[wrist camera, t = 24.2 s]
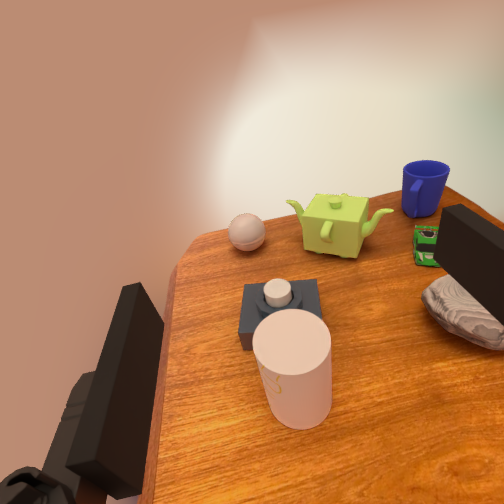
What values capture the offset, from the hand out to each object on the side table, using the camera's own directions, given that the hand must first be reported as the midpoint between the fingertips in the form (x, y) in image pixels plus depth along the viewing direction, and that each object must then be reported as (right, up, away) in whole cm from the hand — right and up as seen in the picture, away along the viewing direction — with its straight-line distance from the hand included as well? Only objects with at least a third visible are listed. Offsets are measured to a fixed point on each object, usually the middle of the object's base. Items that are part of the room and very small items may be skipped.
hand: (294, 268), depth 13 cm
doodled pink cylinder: (+4, -18, +25) cm, 31 cm away
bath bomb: (-2, +2, +53) cm, 53 cm away
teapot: (+15, +2, +48) cm, 51 cm away
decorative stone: (+31, -9, +30) cm, 44 cm away
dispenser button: (+2, -6, +32) cm, 32 cm away
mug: (+34, +9, +52) cm, 62 cm away
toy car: (+31, +1, +43) cm, 53 cm away
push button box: (+3, -10, +35) cm, 37 cm away
